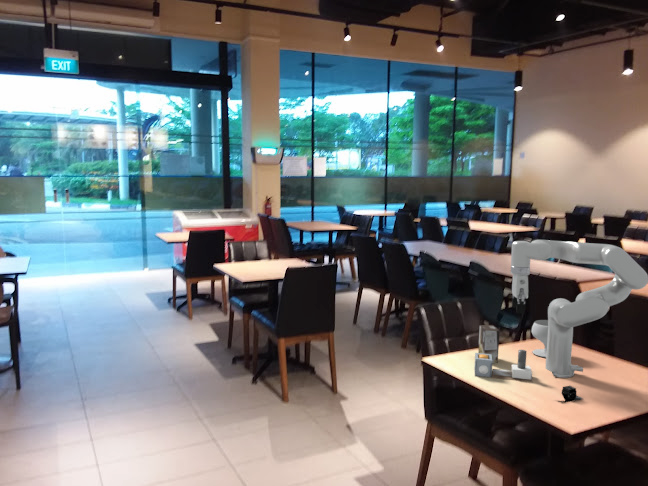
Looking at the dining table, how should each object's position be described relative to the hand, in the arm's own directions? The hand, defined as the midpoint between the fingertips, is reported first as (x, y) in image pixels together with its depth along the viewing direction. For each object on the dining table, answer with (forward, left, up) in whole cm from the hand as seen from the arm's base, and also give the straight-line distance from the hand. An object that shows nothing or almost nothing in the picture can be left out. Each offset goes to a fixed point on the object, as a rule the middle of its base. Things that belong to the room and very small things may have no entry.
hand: (518, 310), depth 219 cm
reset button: (+14, +13, -20) cm, 27 cm away
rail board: (+6, +13, -26) cm, 29 cm away
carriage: (-1, +13, -24) cm, 28 cm away
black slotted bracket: (-17, +26, -27) cm, 41 cm away
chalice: (-16, -25, -26) cm, 40 cm away
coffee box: (+11, -5, -26) cm, 29 cm away
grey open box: (+14, +13, -24) cm, 31 cm away
